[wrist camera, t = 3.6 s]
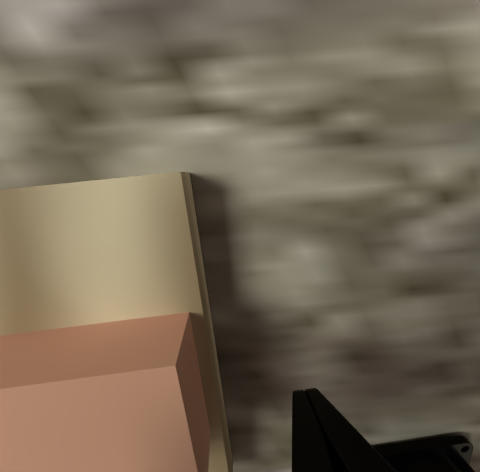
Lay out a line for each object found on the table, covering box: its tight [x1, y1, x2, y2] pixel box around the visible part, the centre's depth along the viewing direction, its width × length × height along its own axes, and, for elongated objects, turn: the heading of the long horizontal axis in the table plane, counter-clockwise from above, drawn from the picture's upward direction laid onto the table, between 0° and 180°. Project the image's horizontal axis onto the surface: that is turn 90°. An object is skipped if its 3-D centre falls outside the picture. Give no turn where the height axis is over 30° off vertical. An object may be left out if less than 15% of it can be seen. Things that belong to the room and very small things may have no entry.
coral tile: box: [0, 312, 210, 472], centre depth 8 cm, size 9×6×2 cm, turn 96°
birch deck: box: [0, 172, 233, 472], centre depth 10 cm, size 12×16×2 cm
